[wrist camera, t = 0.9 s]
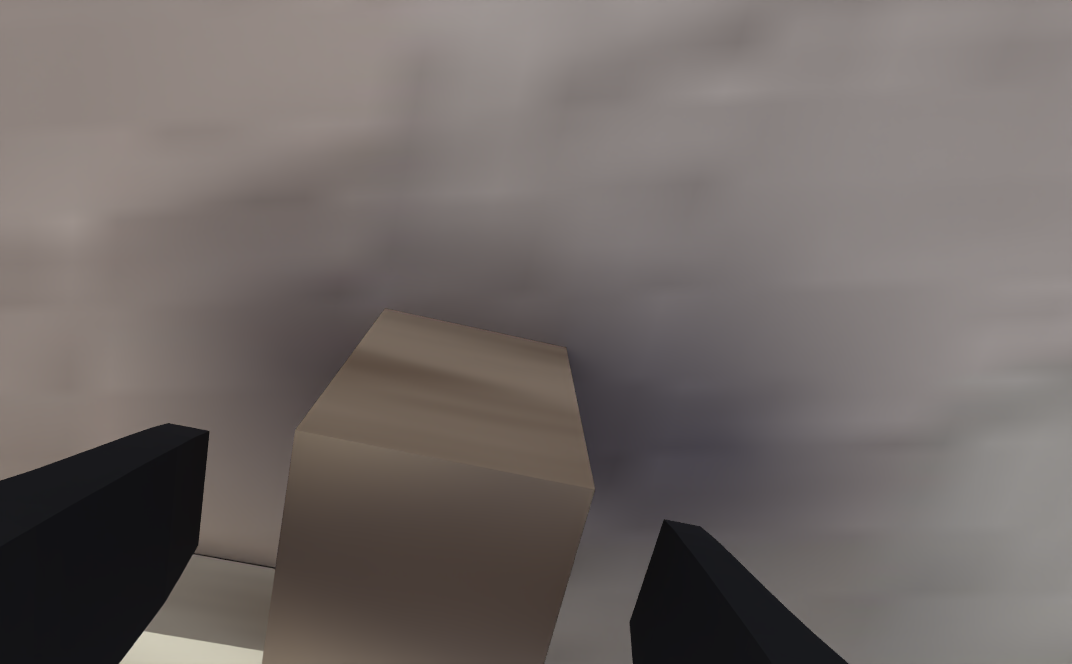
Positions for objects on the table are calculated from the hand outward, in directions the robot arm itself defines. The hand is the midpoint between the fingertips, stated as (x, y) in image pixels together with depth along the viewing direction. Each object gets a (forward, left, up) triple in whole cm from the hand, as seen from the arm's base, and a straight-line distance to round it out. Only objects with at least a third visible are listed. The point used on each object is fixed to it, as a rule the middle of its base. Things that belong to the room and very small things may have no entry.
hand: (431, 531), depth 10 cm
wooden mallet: (-4, 0, -5) cm, 6 cm away
